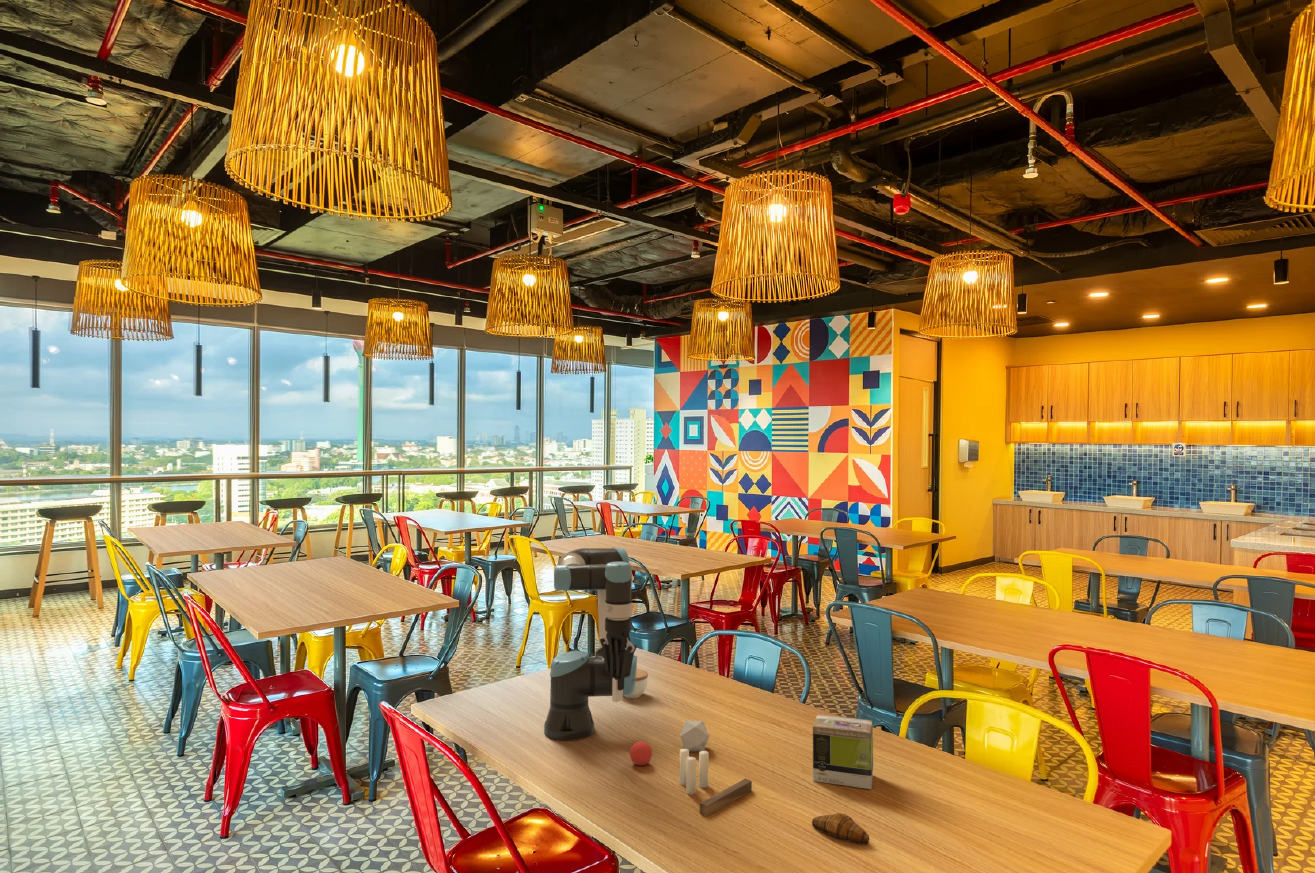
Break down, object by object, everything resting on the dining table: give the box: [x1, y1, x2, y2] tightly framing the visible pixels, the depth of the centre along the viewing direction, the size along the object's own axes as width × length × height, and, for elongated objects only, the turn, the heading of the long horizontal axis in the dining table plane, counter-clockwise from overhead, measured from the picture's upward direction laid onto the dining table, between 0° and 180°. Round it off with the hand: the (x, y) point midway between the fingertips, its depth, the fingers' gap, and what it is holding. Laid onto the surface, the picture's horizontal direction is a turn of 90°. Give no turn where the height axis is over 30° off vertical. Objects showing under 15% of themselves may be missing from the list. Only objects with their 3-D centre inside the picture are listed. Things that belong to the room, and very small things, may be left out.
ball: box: [629, 741, 653, 766], centre depth 202 cm, size 6×6×6 cm
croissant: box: [811, 812, 870, 845], centre depth 166 cm, size 14×7×5 cm, turn 53°
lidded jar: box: [623, 668, 649, 699], centre depth 257 cm, size 11×11×9 cm
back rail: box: [699, 778, 753, 817], centre depth 181 cm, size 2×18×2 cm, turn 136°
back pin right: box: [685, 756, 697, 795], centre depth 186 cm, size 2×2×8 cm
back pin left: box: [698, 750, 709, 789], centre depth 190 cm, size 2×2×8 cm
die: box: [679, 720, 710, 752], centre depth 212 cm, size 8×9×10 cm
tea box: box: [812, 713, 874, 790], centre depth 195 cm, size 15×10×15 cm, turn 71°
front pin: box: [679, 748, 690, 786], centre depth 191 cm, size 2×2×8 cm
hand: (617, 700), depth 208 cm, fingers closed
